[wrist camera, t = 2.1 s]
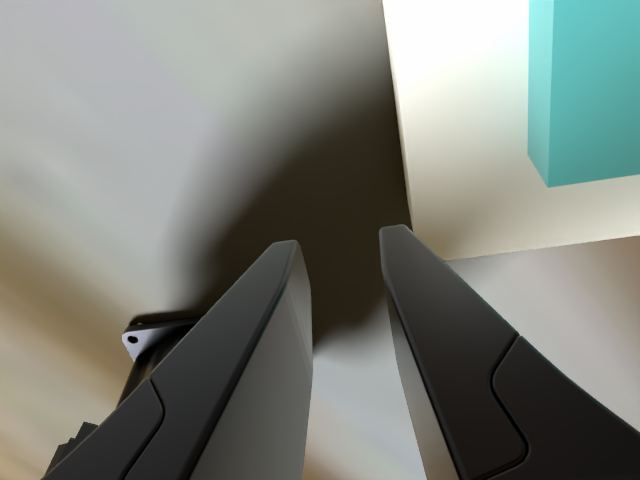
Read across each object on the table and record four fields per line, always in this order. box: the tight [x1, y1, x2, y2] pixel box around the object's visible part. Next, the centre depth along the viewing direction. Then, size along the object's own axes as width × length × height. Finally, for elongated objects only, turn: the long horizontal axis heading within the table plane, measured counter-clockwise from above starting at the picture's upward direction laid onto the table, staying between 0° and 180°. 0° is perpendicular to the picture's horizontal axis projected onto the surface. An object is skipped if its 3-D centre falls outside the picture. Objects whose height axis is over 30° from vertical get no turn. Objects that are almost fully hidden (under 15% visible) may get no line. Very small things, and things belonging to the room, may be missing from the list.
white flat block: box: [383, 0, 640, 261], centre depth 17 cm, size 13×12×4 cm
